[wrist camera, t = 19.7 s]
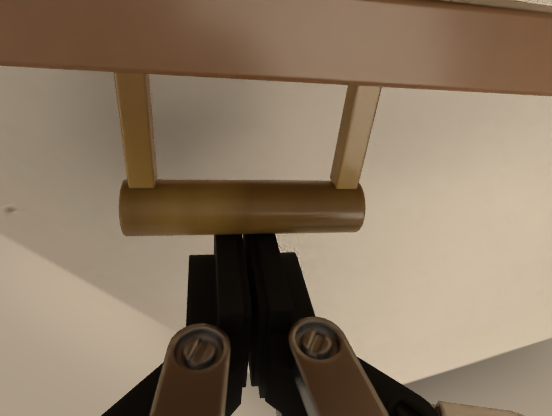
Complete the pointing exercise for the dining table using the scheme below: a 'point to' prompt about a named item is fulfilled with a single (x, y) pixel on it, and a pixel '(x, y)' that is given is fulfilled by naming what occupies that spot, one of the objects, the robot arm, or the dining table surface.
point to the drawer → (276, 67)
